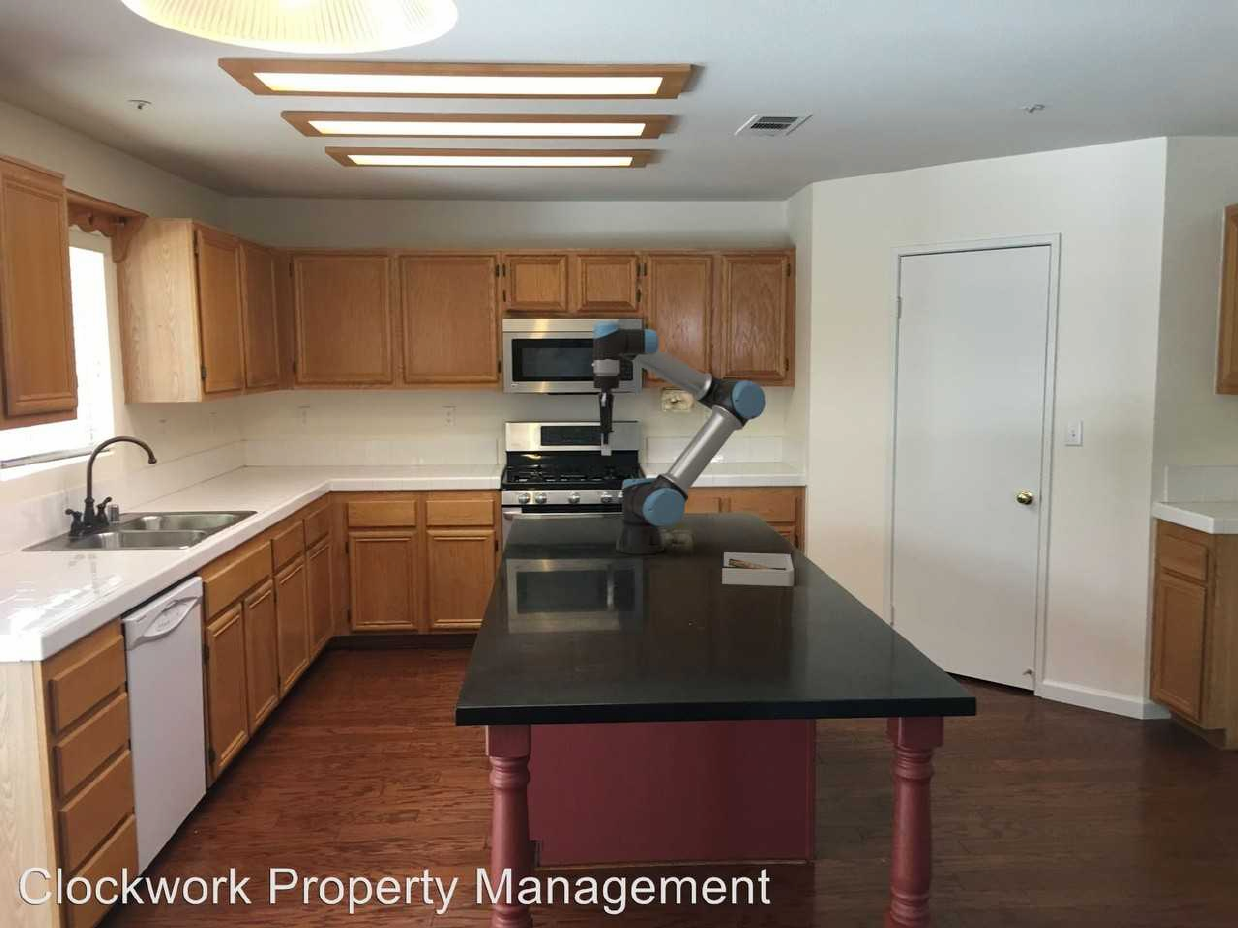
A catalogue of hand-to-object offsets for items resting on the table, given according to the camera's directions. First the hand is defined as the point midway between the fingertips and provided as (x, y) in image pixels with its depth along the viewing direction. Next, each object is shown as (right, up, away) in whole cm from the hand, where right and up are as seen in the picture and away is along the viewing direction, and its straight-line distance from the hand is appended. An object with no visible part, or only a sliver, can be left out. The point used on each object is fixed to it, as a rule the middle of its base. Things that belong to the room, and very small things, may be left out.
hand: (606, 455), depth 273 cm
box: (+42, -34, -12) cm, 56 cm away
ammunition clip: (+39, -32, -10) cm, 51 cm away
